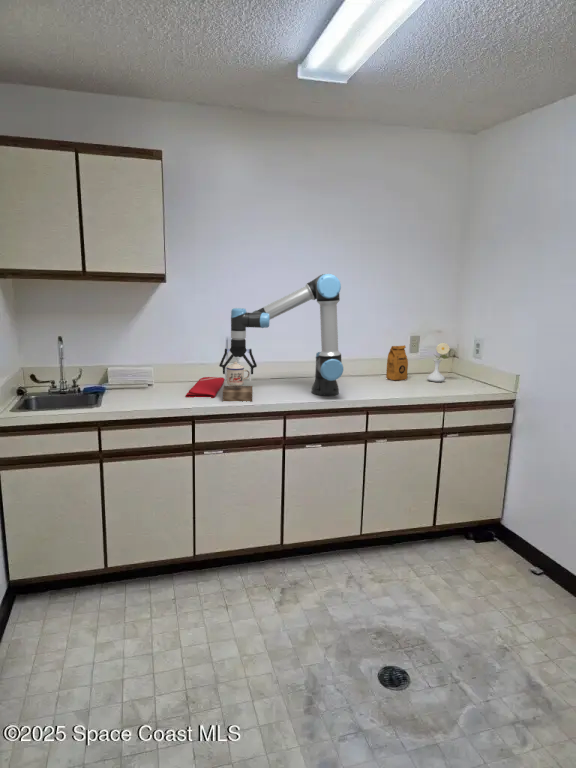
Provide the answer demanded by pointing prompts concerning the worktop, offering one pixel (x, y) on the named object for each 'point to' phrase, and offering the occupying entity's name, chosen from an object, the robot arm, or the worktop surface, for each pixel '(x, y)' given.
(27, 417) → the worktop surface
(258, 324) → the robot arm
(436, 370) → the flower in vase
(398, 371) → the coffee package
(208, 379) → the dish drying mat
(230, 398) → the walnut riser
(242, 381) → the teacup with lid
